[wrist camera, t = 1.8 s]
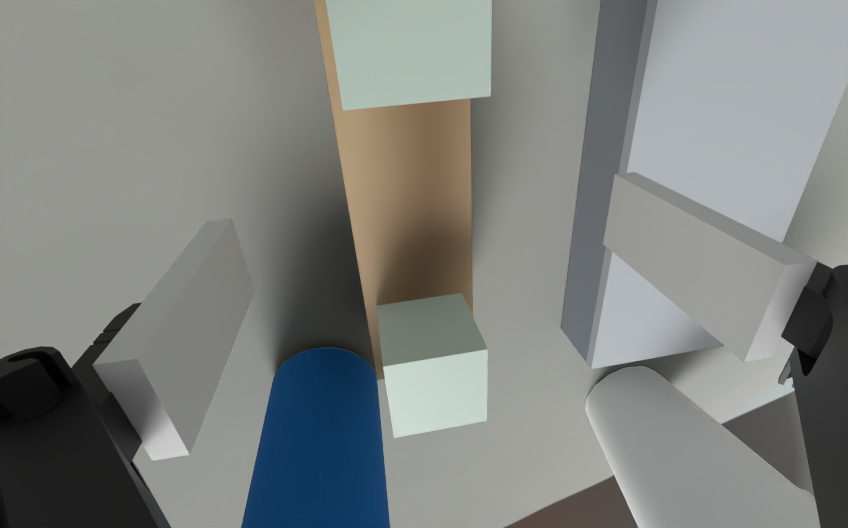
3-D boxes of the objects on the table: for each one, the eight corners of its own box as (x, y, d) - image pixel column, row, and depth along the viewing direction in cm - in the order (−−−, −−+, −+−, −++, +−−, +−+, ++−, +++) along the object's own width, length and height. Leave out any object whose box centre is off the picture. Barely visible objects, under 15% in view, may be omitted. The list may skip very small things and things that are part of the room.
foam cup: (690, 397, 34) (859, 574, 23) (592, 451, 35) (706, 643, 24) (658, 328, 29) (849, 507, 18) (547, 394, 31) (662, 597, 20)
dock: (561, 328, 28) (591, 368, 24) (612, -89, 17) (679, -122, 14) (694, 306, 29) (742, 342, 26) (822, -99, 18) (934, -131, 15)
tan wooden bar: (372, 320, 25) (377, 379, 21) (313, -43, 16) (301, -73, 12) (451, 308, 26) (473, 363, 21) (437, -50, 17) (468, -80, 12)
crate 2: (386, 370, 21) (394, 437, 17) (376, 305, 19) (382, 366, 15) (463, 357, 21) (486, 420, 18) (461, 292, 19) (487, 349, 16)
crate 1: (343, 92, 14) (342, 110, 11) (321, -52, 12) (312, -87, 9) (456, 82, 15) (490, 96, 11) (453, -59, 13) (493, -95, 9)
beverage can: (254, 392, 26) (194, 623, 16) (309, 322, 24) (282, 533, 14) (340, 425, 29) (337, 641, 19) (395, 364, 27) (426, 567, 17)
